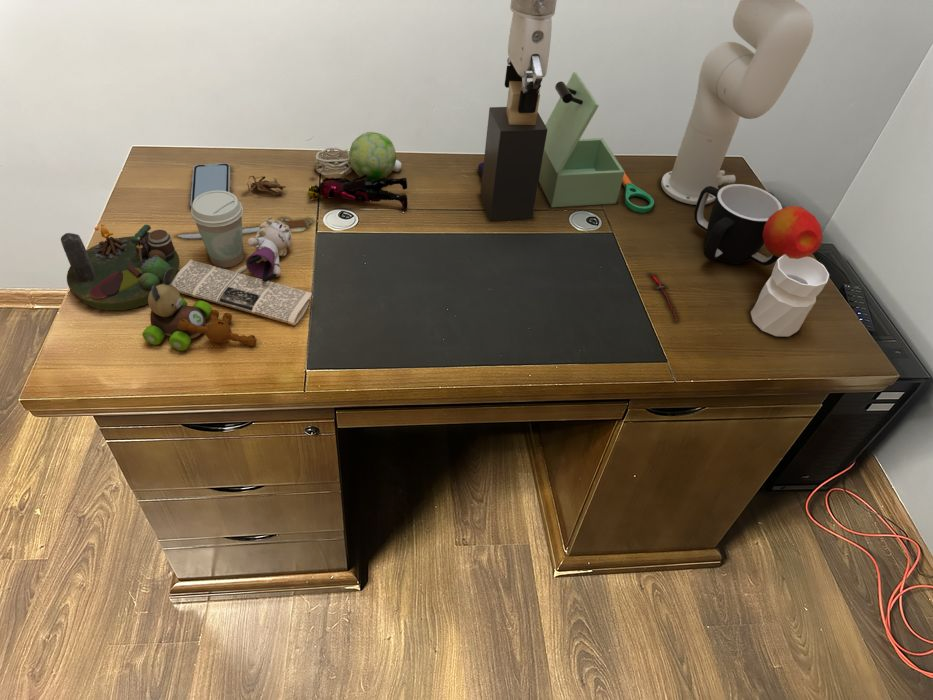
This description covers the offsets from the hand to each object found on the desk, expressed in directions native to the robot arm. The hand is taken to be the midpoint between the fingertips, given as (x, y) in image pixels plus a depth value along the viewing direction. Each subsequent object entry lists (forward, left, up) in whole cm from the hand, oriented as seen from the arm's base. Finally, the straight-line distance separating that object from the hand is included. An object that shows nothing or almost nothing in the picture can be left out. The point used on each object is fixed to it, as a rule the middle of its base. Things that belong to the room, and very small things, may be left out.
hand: (519, 99), depth 127 cm
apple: (-41, +37, -7) cm, 56 cm away
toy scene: (+72, +14, -24) cm, 77 cm away
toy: (+51, +21, -20) cm, 59 cm away
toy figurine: (+56, +27, -22) cm, 66 cm away
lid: (-13, -6, -8) cm, 16 cm away
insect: (+49, -9, -20) cm, 54 cm away
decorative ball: (+28, -11, -15) cm, 33 cm away
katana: (-25, +32, -24) cm, 47 cm away
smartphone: (+59, -13, -24) cm, 65 cm away
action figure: (+30, -5, -24) cm, 38 cm away
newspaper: (+53, +21, -22) cm, 61 cm away
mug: (-42, +20, -24) cm, 52 cm away
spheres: (+22, -22, -23) cm, 39 cm away
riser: (0, 0, -24) cm, 24 cm away
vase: (-41, +40, -24) cm, 62 cm away
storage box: (-17, -6, -24) cm, 30 cm away
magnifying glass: (-29, -3, -24) cm, 38 cm away
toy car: (+62, +28, -24) cm, 72 cm away
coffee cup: (+55, +10, -24) cm, 61 cm away
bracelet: (+38, -17, -21) cm, 47 cm away
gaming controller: (-1, -11, -24) cm, 26 cm away
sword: (+52, +5, -24) cm, 57 cm away
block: (-1, 0, -4) cm, 4 cm away
